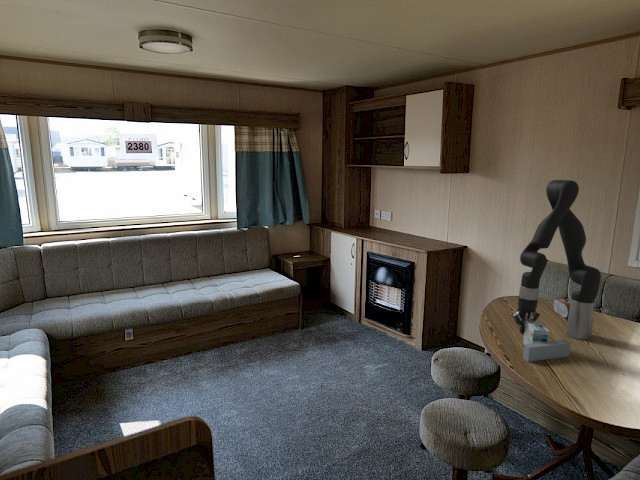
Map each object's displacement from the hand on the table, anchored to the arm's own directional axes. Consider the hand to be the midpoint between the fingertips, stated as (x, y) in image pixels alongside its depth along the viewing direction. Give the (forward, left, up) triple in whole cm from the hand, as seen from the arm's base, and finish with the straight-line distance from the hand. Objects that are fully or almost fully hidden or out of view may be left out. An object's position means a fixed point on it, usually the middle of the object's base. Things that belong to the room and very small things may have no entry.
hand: (523, 333), depth 190 cm
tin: (-43, -23, -5) cm, 50 cm away
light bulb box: (0, +7, -4) cm, 8 cm away
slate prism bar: (+1, +15, -4) cm, 15 cm away
